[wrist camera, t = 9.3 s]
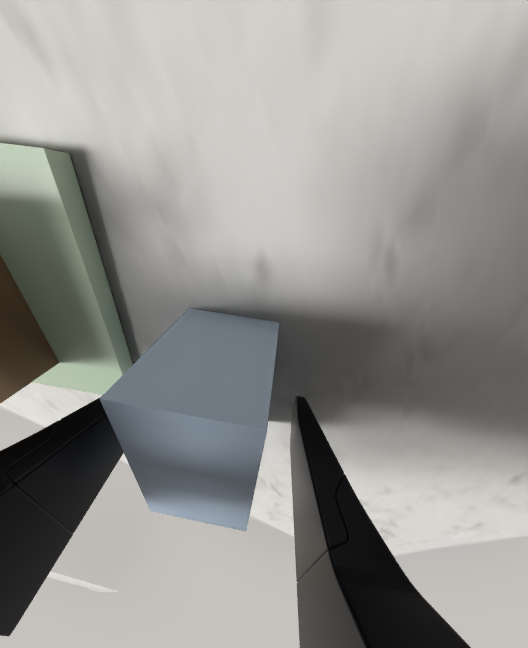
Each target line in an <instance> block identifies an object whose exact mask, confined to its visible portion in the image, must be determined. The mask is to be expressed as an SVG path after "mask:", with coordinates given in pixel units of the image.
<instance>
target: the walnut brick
mask: <svg viewBox="0 0 528 648" xmlns="http://www.w3.org/2000/svg"><path fill="white" fill-rule="evenodd" d="M57 364H59V361H58V359H57V357H56V355H55V354H54V352H53V350H52V348H51V346H50V344H49V343H48V341H47V339H46V337H45V335H44V333H43V332H42V330H41V328H40V326H39V324H38V322H37V321H36V319H35V317H34V315H33V313H32V311H31V310H30V308H29V306H28V304H27V302H26V301H25V299H24V297H23V295H22V293H21V291H20V290H19V288H18V286H17V284H16V282H15V280H14V279H13V277H12V275H11V273H10V271H9V269H8V268H7V266H6V264H5V262H4V260H3V258H2V257H1V255H0V403H2V402H3V401H5V400H6V399H7V398H9V397H10V396H12V395H13V394H15V393H16V392H18V391H19V390H21V389H22V388H24V387H25V386H26V385H28V384H29V383H31V382H32V381H34V380H35V379H37V378H38V377H40V376H41V375H43V374H44V373H45V372H47V371H48V370H50V369H51V368H53V367H54V366H56V365H57Z"/></svg>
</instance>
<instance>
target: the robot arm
mask: <svg viewBox="0 0 528 648" xmlns="http://www.w3.org/2000/svg"><path fill="white" fill-rule="evenodd" d="M100 398H101V397H100ZM100 398H98V399H96V400H95V401H93V402H91V403H89V404H87V405H86V406H84V407H82V408H80V409H78V410H77V411H75V412H73V413H71V414H69V415H68V416H66V417H64V418H62V419H61V420H60V421H57V422H55V423H53V424H51V425H50V426H48V427H46V428H44V429H42V430H40V431H39V432H37V433H35V434H33V435H31V436H29V437H27V438H25V439H23V440H21V441H20V442H18V443H16V444H14V445H12V446H10V447H8V448H6V449H3V450H1V451H0V635H2V636H9V635H10V634H11V633H12V631H13V630H14V628H15V627H16V625H17V624H18V622H19V621H20V619H21V618H22V616H23V614H24V612H25V611H26V609H27V608H28V606H29V604H30V603H31V601H32V600H33V598H34V596H35V595H36V593H37V591H38V590H39V588H40V587H41V585H42V584H43V582H44V580H45V579H46V577H47V576H48V574H49V572H50V571H51V569H52V568H53V566H54V564H55V562H56V561H57V559H58V558H59V556H60V555H61V553H62V551H63V550H64V548H65V547H66V545H67V543H68V542H69V540H70V538H71V537H72V535H73V533H74V532H75V530H76V529H77V527H78V525H79V524H80V522H81V520H82V519H83V517H84V516H85V514H86V512H87V511H88V509H89V508H90V506H91V504H92V503H93V501H94V499H95V498H96V496H97V495H98V493H99V491H100V490H101V488H102V487H103V485H104V483H105V482H106V480H107V478H108V477H109V475H110V473H111V472H112V470H113V469H114V467H115V466H116V464H117V462H118V461H119V459H120V458H121V456H122V454H123V453H124V452H123V449H122V447H121V445H120V443H119V441H118V438H117V436H116V434H115V432H114V430H113V427H112V425H111V423H110V421H109V419H108V416H107V414H106V412H105V410H104V408H103V405H102V403H101V401H100ZM290 453H291V474H292V494H293V515H294V535H295V556H296V576H297V582H298V583H297V598H298V618H299V639H300V648H471V647H470V646H469V645H468V644H467V643H466V642H465V641H464V640H463V639H462V638H461V637H460V636H459V635H458V634H457V632H456V631H455V630H454V629H453V628H452V627H451V626H450V625H449V624H448V623H447V622H446V621H445V620H444V619H443V618H442V617H441V616H440V615H439V614H438V612H437V611H435V609H434V608H433V607H432V606H431V605H430V604H429V603H428V602H427V601H426V600H425V599H424V598H423V597H422V595H421V594H420V593H419V592H418V591H417V590H416V588H415V587H414V586H413V584H412V583H411V582H410V581H409V579H408V578H407V576H406V575H405V574H404V572H403V571H402V569H401V567H400V566H399V564H398V563H397V562H396V560H395V558H394V556H393V555H392V553H391V552H390V550H389V548H388V547H387V545H386V544H385V542H384V540H383V539H382V537H381V536H380V534H379V532H378V531H377V529H376V528H375V526H374V524H373V523H372V521H371V520H370V518H369V516H368V515H367V513H366V511H365V510H364V508H363V506H362V505H361V503H360V501H359V500H358V498H357V496H356V494H355V492H354V491H353V489H352V487H351V485H350V483H349V481H348V479H347V477H346V475H345V474H344V472H343V470H342V468H341V466H340V464H339V462H338V460H337V458H336V456H335V454H334V452H333V450H332V448H331V447H330V445H329V443H328V441H327V439H326V437H325V435H324V433H323V431H322V429H321V427H320V425H319V423H318V421H317V420H316V418H315V416H314V414H313V412H312V410H311V408H310V406H309V404H308V402H307V400H306V398H305V397H302V396H296V397H295V401H294V404H293V409H292V422H291V438H290Z"/></svg>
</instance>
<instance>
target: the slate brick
mask: <svg viewBox="0 0 528 648" xmlns="http://www.w3.org/2000/svg"><path fill="white" fill-rule="evenodd" d="M278 332H279V322H273V321H267V320H261V319H255V318H248V317H242V316H236V315H230V314H224V313H217V312H211V311H205V310H199V309H193V308H189V309H188V310H187V311H186V312H185V313H184V314H183V315H182V316H181V317H180V318H179V319H178V320H177V321H176V322H175V323H174V324H173V325H172V326H171V327H170V328H169V329H168V330H167V331H166V332H165V333H164V334H163V335H162V336H161V337H160V338H159V339H158V340H157V341H156V342H155V343H154V344H153V345H152V346H151V347H150V348H149V349H148V350H147V351H146V352H145V353H144V354H143V355H142V356H141V357H140V358H139V359H138V360H137V361H136V362H135V363H134V364H133V365H132V366H131V367H130V368H129V369H128V370H127V371H126V372H125V373H124V374H123V375H122V376H121V377H120V378H119V379H118V380H117V381H116V382H115V383H114V384H113V385H112V386H111V387H110V389H109V390H108V391H107V392H106V393H105V394H104V395H103V396H102V397H101V398H100V401H101V403H102V405H103V408H104V410H105V412H106V414H107V416H108V419H109V421H110V423H111V425H112V427H113V430H114V432H115V434H116V436H117V438H118V441H119V443H120V445H121V447H122V449H123V452H124V454H125V456H126V458H127V460H128V463H129V465H130V467H131V469H132V471H133V474H134V476H135V478H136V480H137V482H138V484H139V487H140V489H141V491H142V493H143V496H144V498H145V500H146V502H147V504H148V507H149V509H150V511H153V512H157V513H162V514H167V515H172V516H176V517H181V518H185V519H191V520H195V521H200V522H204V523H209V524H214V525H218V526H223V527H228V528H233V529H238V530H242V531H246V529H247V524H248V519H249V514H250V510H251V505H252V500H253V495H254V490H255V486H256V481H257V476H258V471H259V466H260V462H261V457H262V452H263V447H264V442H265V438H266V433H267V426H268V418H269V409H270V401H271V392H272V384H273V375H274V366H275V358H276V349H277V341H278Z"/></svg>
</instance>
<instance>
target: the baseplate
mask: <svg viewBox="0 0 528 648" xmlns="http://www.w3.org/2000/svg"><path fill="white" fill-rule="evenodd" d="M0 255H1V257H2V258H3V260H4V262H5V264H6V266H7V268H8V269H9V271H10V273H11V275H12V277H13V279H14V280H15V282H16V284H17V286H18V288H19V290H20V291H21V293H22V295H23V297H24V299H25V301H26V302H27V304H28V306H29V308H30V310H31V311H32V313H33V315H34V317H35V319H36V321H37V322H38V324H39V326H40V328H41V330H42V332H43V333H44V335H45V337H46V339H47V341H48V343H49V344H50V346H51V348H52V350H53V352H54V354H55V355H56V357H57V359H58V361H59V364H57V365H56V366H54V367H53V368H51V369H50V370H48V371H47V372H45V373H44V374H43V375H41V376H40V377H38V378H37V379H35V380H34V381H32V382H34V383H40V384H45V385H51V386H56V387H62V388H67V389H73V390H79V391H84V392H90V393H95V394H101V395H104V394H105V393H106V392H107V391H108V390H109V389H110V387H111V386H112V385H113V384H114V383H115V382H116V381H117V380H118V379H119V378H120V377H121V376H122V375H123V374H124V373H125V372H126V371H127V370H128V369H129V368H130V367H131V366H132V365H133V363H132V360H131V356H130V353H129V350H128V346H127V343H126V340H125V337H124V333H123V330H122V327H121V323H120V320H119V317H118V313H117V310H116V307H115V303H114V300H113V297H112V293H111V290H110V287H109V283H108V280H107V277H106V273H105V270H104V267H103V263H102V260H101V257H100V254H99V250H98V247H97V244H96V240H95V237H94V234H93V230H92V227H91V224H90V220H89V217H88V214H87V210H86V207H85V204H84V200H83V197H82V194H81V190H80V187H79V184H78V180H77V177H76V174H75V171H74V167H73V164H72V161H71V157H70V154H68V153H64V152H59V151H55V150H50V149H46V148H39V147H31V146H22V145H14V144H5V143H0Z"/></svg>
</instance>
